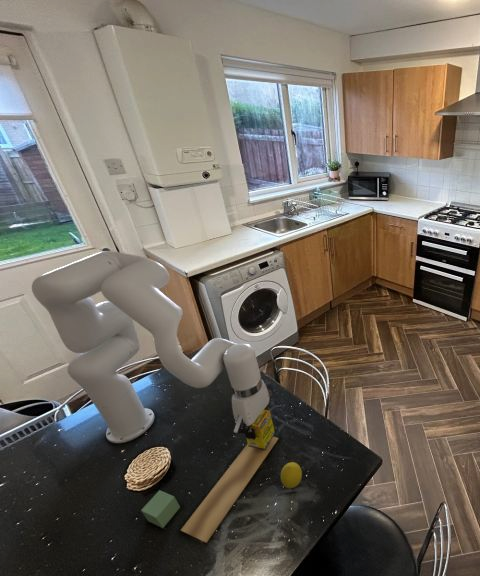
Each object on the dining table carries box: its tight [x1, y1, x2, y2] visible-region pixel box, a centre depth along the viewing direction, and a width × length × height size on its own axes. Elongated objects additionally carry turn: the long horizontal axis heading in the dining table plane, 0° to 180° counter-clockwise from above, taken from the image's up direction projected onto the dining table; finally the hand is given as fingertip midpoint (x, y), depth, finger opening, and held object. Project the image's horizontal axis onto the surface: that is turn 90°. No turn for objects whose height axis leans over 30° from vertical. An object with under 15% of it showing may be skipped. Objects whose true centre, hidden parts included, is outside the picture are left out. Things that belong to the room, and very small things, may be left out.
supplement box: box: [245, 409, 276, 450], centre depth 94 cm, size 6×6×11 cm
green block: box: [140, 489, 181, 529], centre depth 78 cm, size 5×5×5 cm
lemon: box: [280, 461, 303, 489], centre depth 84 cm, size 6×6×8 cm
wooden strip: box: [180, 436, 280, 544], centre depth 87 cm, size 8×29×1 cm, turn 162°
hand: (258, 427), depth 94 cm, fingers closed on supplement box, 6 cm apart
